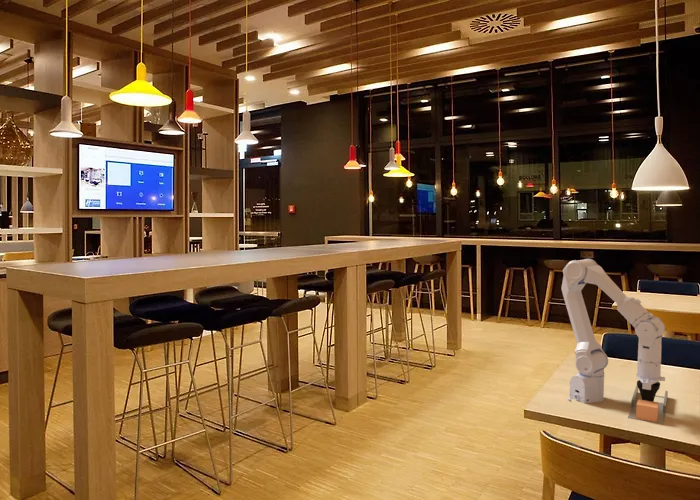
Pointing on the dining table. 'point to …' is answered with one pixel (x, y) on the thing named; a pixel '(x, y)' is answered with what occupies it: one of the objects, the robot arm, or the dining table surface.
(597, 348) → the robot arm
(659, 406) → the channel
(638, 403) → the block
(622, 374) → the dining table surface
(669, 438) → the dining table surface
